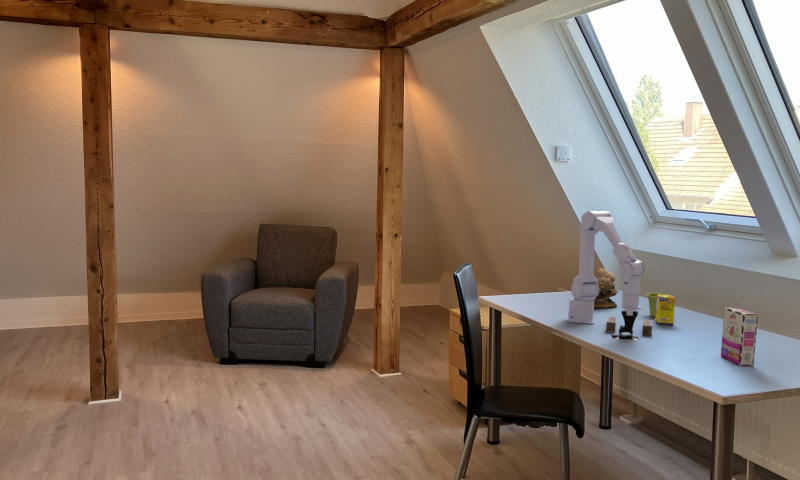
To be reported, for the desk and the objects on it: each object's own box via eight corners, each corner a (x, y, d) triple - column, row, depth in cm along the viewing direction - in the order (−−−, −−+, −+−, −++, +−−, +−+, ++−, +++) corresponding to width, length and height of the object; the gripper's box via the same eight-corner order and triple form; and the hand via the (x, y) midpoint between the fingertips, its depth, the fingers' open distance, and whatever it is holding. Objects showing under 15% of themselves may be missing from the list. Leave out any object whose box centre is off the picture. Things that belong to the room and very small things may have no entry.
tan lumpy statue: (608, 303, 309) (611, 265, 307) (624, 308, 298) (627, 269, 296) (573, 304, 304) (575, 266, 302) (588, 310, 293) (590, 270, 291)
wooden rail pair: (606, 331, 254) (606, 322, 254) (607, 323, 267) (608, 314, 267) (651, 336, 249) (652, 326, 249) (650, 327, 262) (651, 318, 262)
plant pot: (666, 319, 277) (667, 298, 276) (642, 316, 283) (643, 295, 282) (672, 315, 285) (674, 295, 284) (649, 312, 290) (651, 292, 289)
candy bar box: (754, 366, 213) (759, 314, 211) (739, 366, 213) (743, 314, 211) (734, 356, 224) (738, 306, 222) (719, 356, 224) (723, 306, 222)
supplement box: (673, 325, 266) (675, 297, 265) (657, 324, 268) (659, 296, 266) (670, 322, 272) (672, 295, 271) (654, 321, 273) (656, 294, 272)
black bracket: (641, 337, 249) (642, 325, 248) (645, 343, 242) (646, 330, 241) (606, 335, 250) (606, 323, 250) (609, 340, 243) (610, 327, 243)
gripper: (642, 298, 239) (640, 336, 241) (642, 291, 253) (640, 327, 254) (621, 297, 242) (619, 334, 243) (622, 290, 255) (620, 326, 257)
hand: (628, 331), depth 249 cm, fingers closed
